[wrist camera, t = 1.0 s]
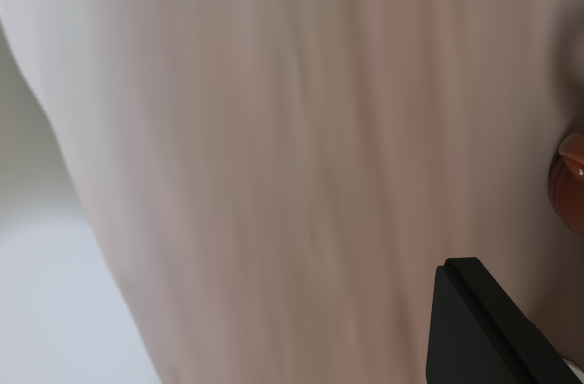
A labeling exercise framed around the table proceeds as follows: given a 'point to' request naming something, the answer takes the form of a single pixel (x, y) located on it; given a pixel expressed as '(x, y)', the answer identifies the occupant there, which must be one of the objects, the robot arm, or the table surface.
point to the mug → (569, 183)
